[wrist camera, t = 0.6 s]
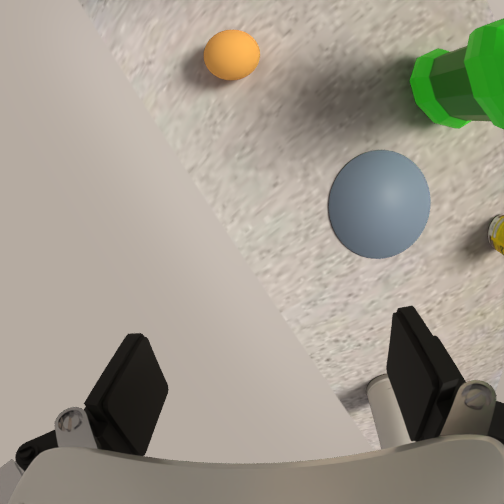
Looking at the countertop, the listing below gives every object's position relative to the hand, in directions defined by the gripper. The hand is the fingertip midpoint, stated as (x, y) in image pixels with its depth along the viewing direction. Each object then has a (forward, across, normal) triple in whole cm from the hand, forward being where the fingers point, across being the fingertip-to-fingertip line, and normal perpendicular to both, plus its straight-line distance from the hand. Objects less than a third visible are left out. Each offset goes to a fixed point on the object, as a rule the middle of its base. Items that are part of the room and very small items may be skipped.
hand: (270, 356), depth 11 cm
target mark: (+28, -14, +2) cm, 31 cm away
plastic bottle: (+28, -22, -12) cm, 38 cm away
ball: (+25, +2, -17) cm, 30 cm away
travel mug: (+28, -15, +34) cm, 46 cm away
